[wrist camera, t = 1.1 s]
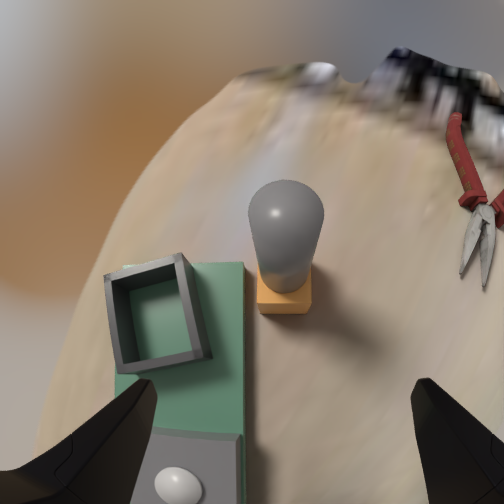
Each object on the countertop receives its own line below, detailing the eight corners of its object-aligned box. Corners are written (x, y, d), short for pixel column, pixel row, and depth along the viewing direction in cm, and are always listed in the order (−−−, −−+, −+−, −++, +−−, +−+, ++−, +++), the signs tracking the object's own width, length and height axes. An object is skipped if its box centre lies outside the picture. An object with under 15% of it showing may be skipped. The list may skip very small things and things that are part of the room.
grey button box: (241, 520, 16) (236, 537, 14) (145, 506, 17) (130, 520, 14) (240, 433, 19) (234, 442, 16) (139, 424, 20) (122, 429, 17)
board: (246, 518, 17) (244, 526, 16) (129, 501, 18) (122, 507, 17) (245, 268, 25) (243, 261, 24) (130, 270, 26) (123, 265, 24)
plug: (306, 313, 23) (331, 262, 12) (260, 313, 24) (242, 262, 12) (305, 257, 25) (323, 168, 14) (261, 258, 25) (246, 168, 14)
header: (213, 358, 21) (203, 357, 18) (136, 374, 21) (117, 374, 18) (192, 266, 24) (181, 252, 21) (121, 286, 24) (103, 275, 21)
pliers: (415, 257, 24) (428, 246, 22) (445, 118, 30) (452, 104, 28) (506, 307, 22) (522, 301, 19) (515, 162, 27) (525, 150, 25)
